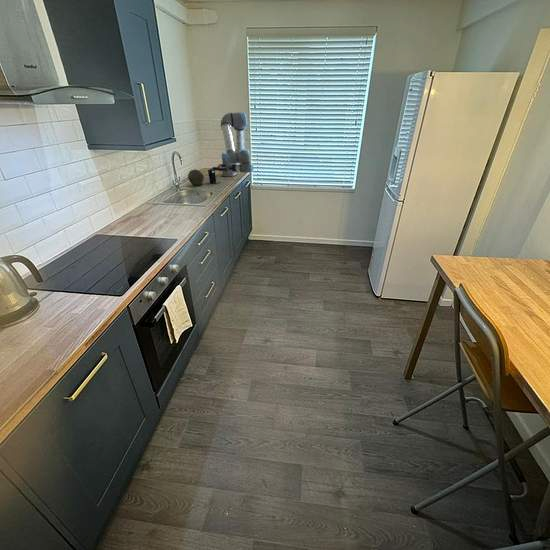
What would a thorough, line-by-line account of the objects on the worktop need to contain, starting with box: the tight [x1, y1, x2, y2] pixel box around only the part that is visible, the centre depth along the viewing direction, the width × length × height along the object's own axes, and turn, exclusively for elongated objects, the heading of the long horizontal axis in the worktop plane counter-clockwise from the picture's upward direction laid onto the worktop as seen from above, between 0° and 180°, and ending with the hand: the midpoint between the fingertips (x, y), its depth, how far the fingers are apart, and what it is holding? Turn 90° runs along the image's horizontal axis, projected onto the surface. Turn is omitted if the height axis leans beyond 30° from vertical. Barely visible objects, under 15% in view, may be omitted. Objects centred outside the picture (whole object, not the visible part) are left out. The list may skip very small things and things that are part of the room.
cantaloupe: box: [187, 169, 205, 187], centre depth 275 cm, size 14×14×15 cm
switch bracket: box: [205, 168, 221, 185], centre depth 281 cm, size 11×9×13 cm
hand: (216, 167), depth 275 cm, fingers open, 12 cm apart
